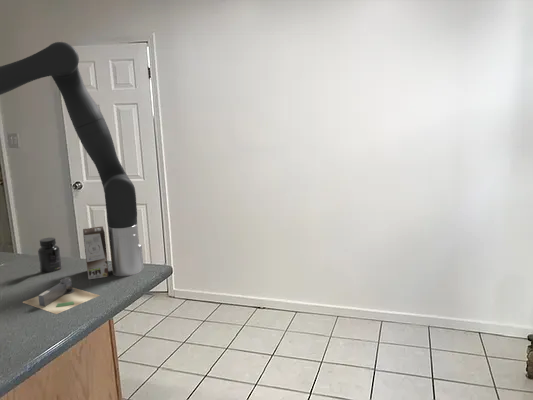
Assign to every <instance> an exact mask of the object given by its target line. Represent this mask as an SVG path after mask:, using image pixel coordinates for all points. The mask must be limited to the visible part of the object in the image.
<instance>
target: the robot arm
mask: <svg viewBox="0 0 533 400" xmlns="http://www.w3.org/2000/svg"><path fill="white" fill-rule="evenodd" d="M79 57H80V56H79V54H78V52H77V49H75V47H74V46H72V45H71V44H69V43H68V42H63V41H56V42H52V43H51V44H50V45H48V46H47V47H45V48H43V49H41V50H39V51H37V52H35V53H34V54H31V55H29V56H27V57H25V58H21V59H20V60H17V61H13V62H10V63H7V64H3V65H0V96H1V95H4V94H6V93H8V92H11V91H13V90H15V89H18V88H20V87H22V86H24V85H25V84H28V83H31V82H33V81H36V80H39V79H42V78H47V77H51V79H53V80H52V81H54V83H55V84H56V87H57V89H58V91H59V92H60V94H61V96H62V98H63V101H64V104H65V108H66V110H67V111H66V112H68V113H67V114H68V116H69V118H70V121H71V123H72V125H73V128H74V130H75V132H76V135H77V138H78V140H79V141H80V143H81V145H82V146H83V149H84V151H85V152H86V153H87V155H88V156H89V157H90V159H91V161H92V163H93V164H94V165H95V168H96V169H97V172H98V176H99V178H100V181H101V184H102V187H103V193H104V198H105V199H104V200H105V208H106V209H105V211H106V224H107V231H108V241H109V251H110V253H109V254H110V263H111V271H112V275H114V276H115V277H116V276H117V277H128V276H133V275H136V274H139V273H140V272H141V271H142V270H144V254H143V245H141V244H140V238H139V237H140V236H139V226H138V207H137V195H136V194H137V193H136V189H135V186H134V184H133V181H132V180H131V179H130V178H129V175H127V172H126V171H125V170H124V169H125V168H124V167H123V165H122V163H121V162H120V160H119V158H118V155H117V152H116V149H115V148H116V147H115V144H114V140H113V138H112V135H111V131H110V129H109V126H108V125H107V122H106V119H105V118H104V115H103V113H102V111H101V110H100V108H99V107H98V105H97V103H96V101H95V100H94V99H93V97H92V96H91V94H90V92H89V91H88V89H87V87H86V85H85V83H84V81H83V77H82V75H81V72H80V68H79V62H80V58H79Z"/></svg>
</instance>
